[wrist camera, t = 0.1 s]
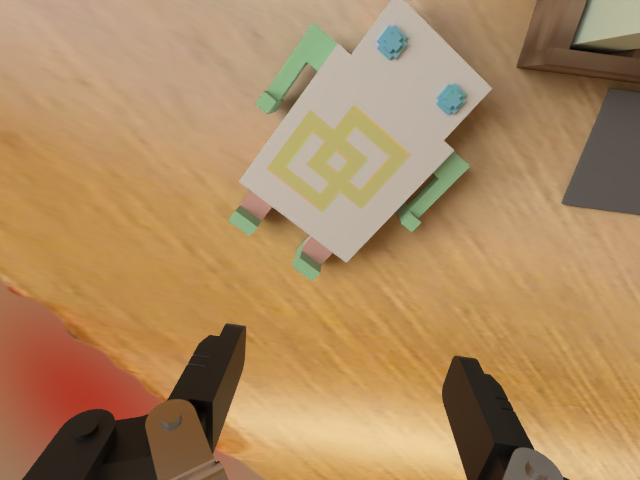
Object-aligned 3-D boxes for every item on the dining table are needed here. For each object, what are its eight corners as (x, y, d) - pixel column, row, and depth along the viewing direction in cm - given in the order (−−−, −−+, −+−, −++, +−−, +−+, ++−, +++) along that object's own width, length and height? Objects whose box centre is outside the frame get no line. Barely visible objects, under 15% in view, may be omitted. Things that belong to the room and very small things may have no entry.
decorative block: (357, -51, 27) (528, 121, 31) (354, -27, 33) (498, 115, 37) (191, 197, 36) (341, 305, 40) (212, 181, 42) (341, 277, 46)
